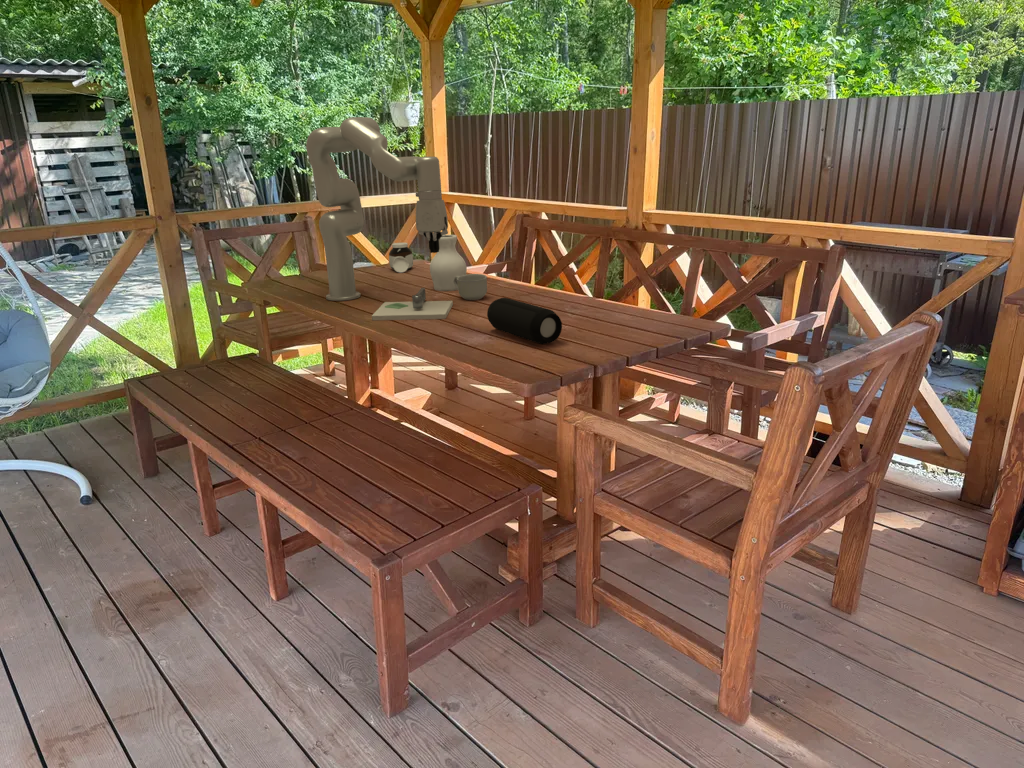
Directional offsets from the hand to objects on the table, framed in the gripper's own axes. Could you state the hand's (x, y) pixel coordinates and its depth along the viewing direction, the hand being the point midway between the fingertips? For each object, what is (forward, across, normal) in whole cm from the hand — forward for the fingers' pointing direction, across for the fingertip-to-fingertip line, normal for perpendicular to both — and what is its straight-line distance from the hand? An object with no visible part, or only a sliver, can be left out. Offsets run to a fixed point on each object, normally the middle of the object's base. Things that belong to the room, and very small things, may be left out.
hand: (434, 252), depth 244 cm
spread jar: (+19, -53, +59) cm, 81 cm away
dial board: (+19, -5, -8) cm, 21 cm away
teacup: (+20, +3, +18) cm, 27 cm away
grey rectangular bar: (+17, -4, -5) cm, 18 cm away
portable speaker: (+20, +42, -24) cm, 53 cm away
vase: (+19, -14, +32) cm, 40 cm away
